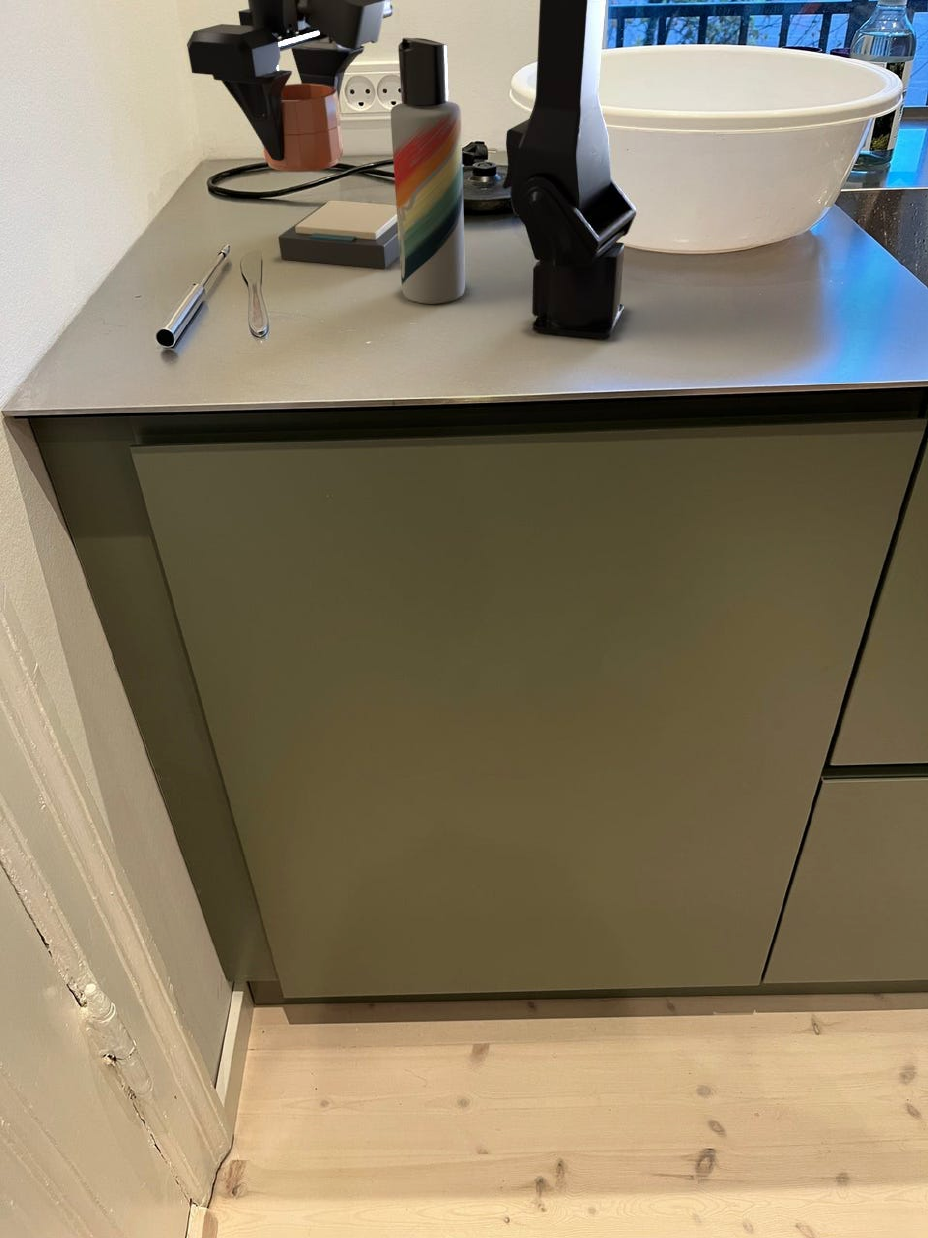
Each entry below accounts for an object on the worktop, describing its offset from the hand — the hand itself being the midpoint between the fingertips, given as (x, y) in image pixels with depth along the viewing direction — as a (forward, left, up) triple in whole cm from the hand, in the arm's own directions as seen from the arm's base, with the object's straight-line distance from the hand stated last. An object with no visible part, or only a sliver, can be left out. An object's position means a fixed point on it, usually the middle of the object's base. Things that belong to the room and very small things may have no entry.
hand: (302, 149), depth 85 cm
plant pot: (0, 0, -1) cm, 1 cm away
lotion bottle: (-12, +1, -11) cm, 17 cm away
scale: (0, -9, -11) cm, 14 cm away
